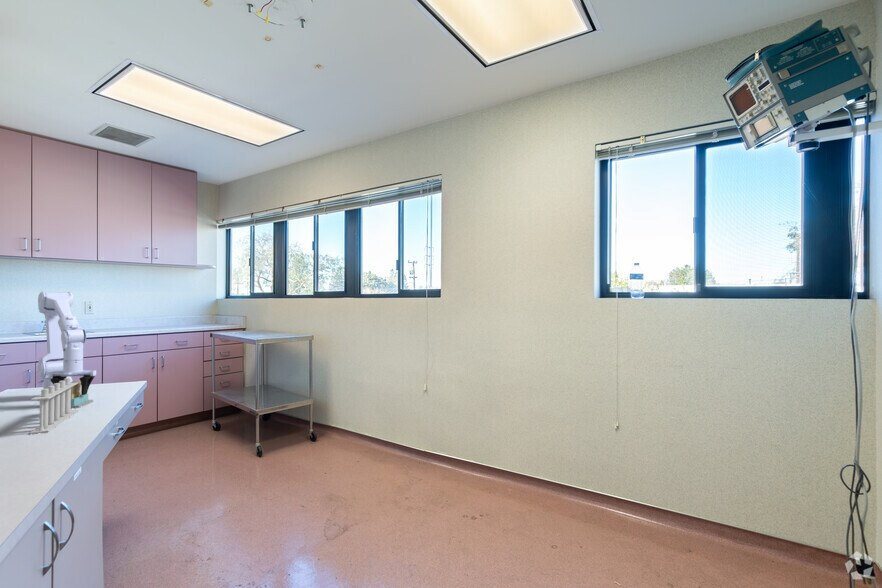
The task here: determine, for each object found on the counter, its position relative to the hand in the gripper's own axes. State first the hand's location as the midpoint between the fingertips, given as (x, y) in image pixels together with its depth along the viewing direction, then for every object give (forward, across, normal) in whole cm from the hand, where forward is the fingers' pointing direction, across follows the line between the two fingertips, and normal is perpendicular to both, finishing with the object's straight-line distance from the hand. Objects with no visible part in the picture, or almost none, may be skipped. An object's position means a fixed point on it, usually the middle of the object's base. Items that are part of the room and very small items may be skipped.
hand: (72, 394), depth 158 cm
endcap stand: (+4, 0, 0) cm, 4 cm away
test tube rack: (+4, +8, -23) cm, 25 cm away
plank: (+3, 0, 0) cm, 3 cm away
